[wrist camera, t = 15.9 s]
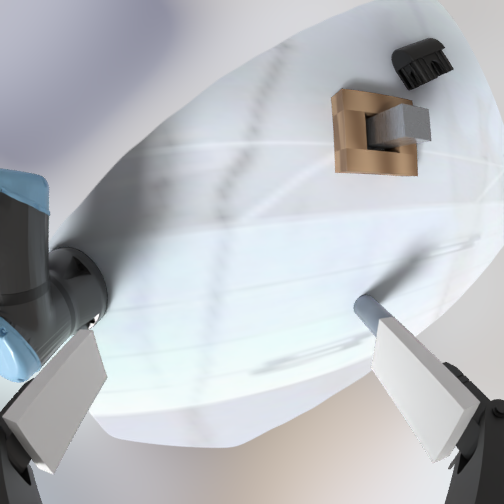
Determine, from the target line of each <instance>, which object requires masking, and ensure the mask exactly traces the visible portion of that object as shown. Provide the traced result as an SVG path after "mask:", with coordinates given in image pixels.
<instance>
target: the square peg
mask: <svg viewBox="0 0 504 504" xmlns="http://www.w3.org/2000/svg"><path fill="white" fill-rule="evenodd" d="M365 123H366V138H367V149H371V150H384V149H389V148H395V147H400V146H405V145H411V144H416V143H422V142H428V141H431V130H430V119H429V111H428V109H425V108H421V107H416V106H412V105H407V104H400V105H397V106H395V107H393V108H390V109H388V110H386V111H384V112H381V113H379V114H377V115H375V116H373V117H371V118H368V119H366V120H365Z"/></svg>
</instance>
